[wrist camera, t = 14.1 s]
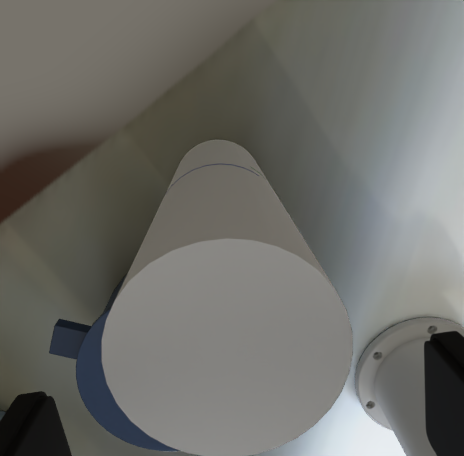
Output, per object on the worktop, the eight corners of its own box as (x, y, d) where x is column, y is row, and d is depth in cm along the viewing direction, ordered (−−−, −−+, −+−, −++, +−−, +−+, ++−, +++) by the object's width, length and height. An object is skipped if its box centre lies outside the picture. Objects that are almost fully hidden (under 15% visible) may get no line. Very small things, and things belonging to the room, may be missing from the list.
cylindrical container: (192, 126, 35) (146, 200, 11) (273, 157, 36) (396, 288, 12) (163, 207, 37) (71, 421, 13) (242, 235, 38) (293, 481, 14)
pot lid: (100, 264, 29) (81, 293, 25) (285, 310, 31) (297, 345, 27) (65, 421, 33) (43, 469, 29) (232, 455, 35) (235, 506, 31)
